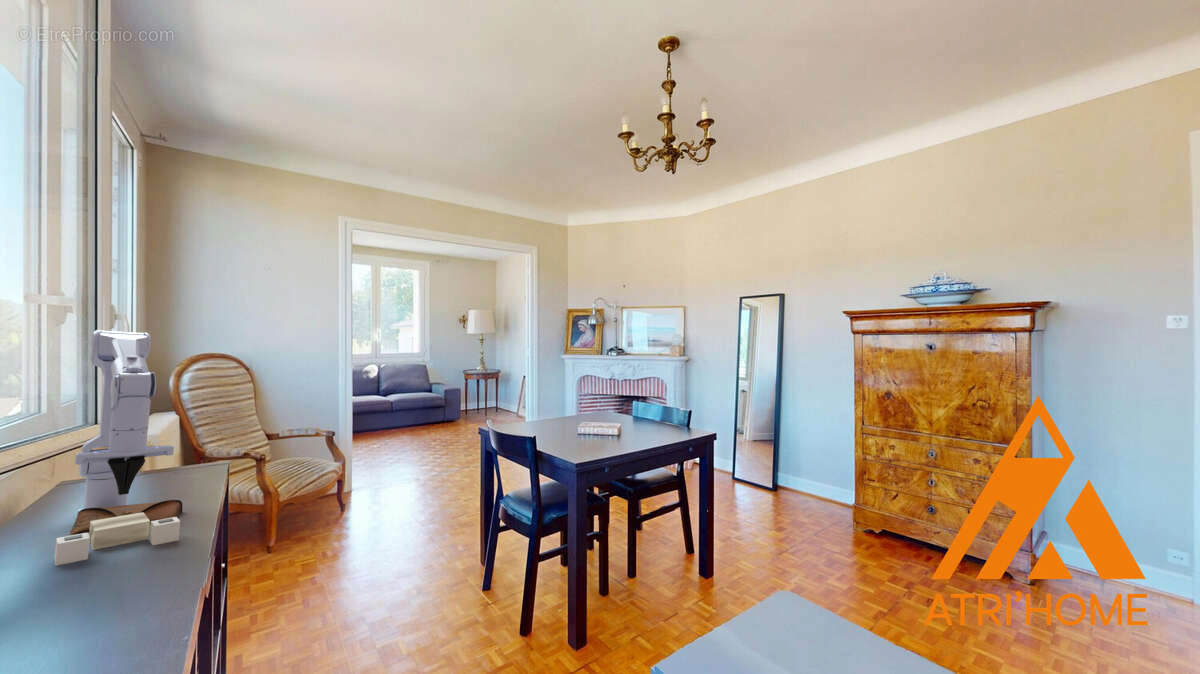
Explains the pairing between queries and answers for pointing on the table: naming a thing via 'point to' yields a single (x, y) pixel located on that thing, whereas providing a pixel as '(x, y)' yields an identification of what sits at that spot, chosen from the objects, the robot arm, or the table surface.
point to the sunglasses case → (126, 513)
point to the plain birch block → (118, 530)
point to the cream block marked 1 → (71, 548)
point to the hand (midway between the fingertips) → (123, 493)
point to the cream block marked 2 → (164, 530)
